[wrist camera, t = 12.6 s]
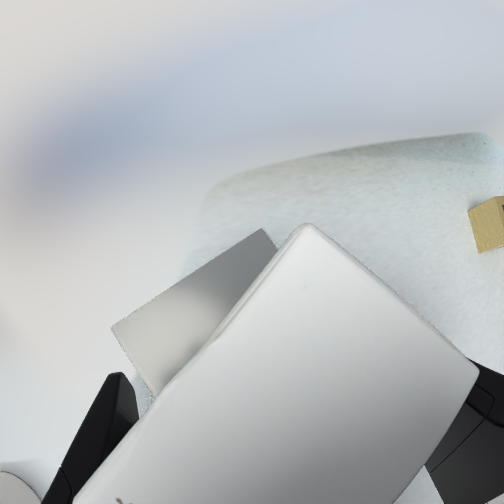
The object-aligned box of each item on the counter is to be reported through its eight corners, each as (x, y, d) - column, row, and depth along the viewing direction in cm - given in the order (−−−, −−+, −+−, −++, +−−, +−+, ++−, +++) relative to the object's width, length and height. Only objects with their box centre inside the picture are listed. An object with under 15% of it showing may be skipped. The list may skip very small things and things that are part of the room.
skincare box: (243, 436, 14) (267, 615, 3) (175, 386, 15) (56, 504, 3) (317, 344, 16) (491, 369, 4) (250, 293, 16) (298, 204, 4)
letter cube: (490, 208, 25) (516, 194, 21) (501, 247, 24) (529, 236, 20) (466, 211, 24) (494, 196, 21) (478, 253, 24) (507, 242, 20)
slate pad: (260, 231, 22) (261, 228, 21) (357, 371, 20) (362, 372, 20) (114, 327, 20) (110, 327, 19) (216, 468, 18) (216, 473, 17)
